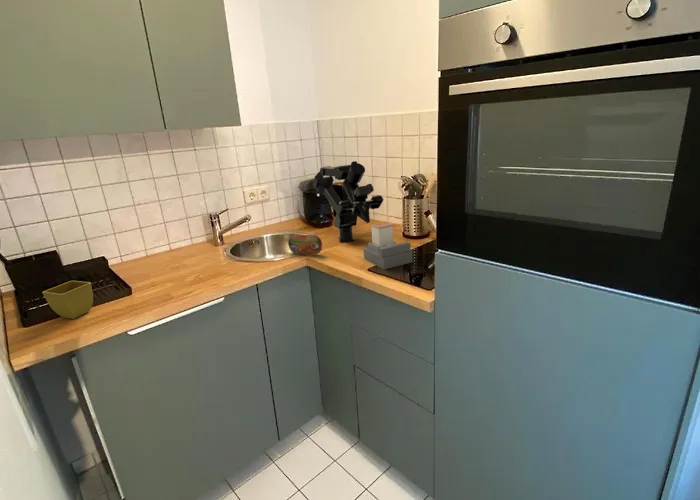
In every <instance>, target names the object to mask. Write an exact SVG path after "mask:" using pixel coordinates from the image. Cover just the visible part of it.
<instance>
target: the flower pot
mask: <svg viewBox="0 0 700 500" xmlns="http://www.w3.org/2000/svg"><path fill="white" fill-rule="evenodd" d="M42 295H43V297H44V298H45V300H46V302H47V303H48V305H49V306H50V308H51V310H52V311H54V312H55V314H57V315H58V316H60V317H61V318H65V319H76V318H78V317H80V316H82V315H85V314H86V313H89V312H90V311H91V309H92V307H93V303H94V294H93V288H92V282H90V281H79V280H70V281H67V282H64V283H62V284H59V285H57V286H54V287H51V288H48V289H46V290H44V291H42Z"/></svg>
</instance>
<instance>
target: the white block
mask: <svg viewBox="0 0 700 500" xmlns="http://www.w3.org/2000/svg"><path fill="white" fill-rule="evenodd" d="M370 227H371V228H370V229H371V243H373V244H375V245H377V246H379V247H380V248H382V247H386V246H387V245H390V244H393V241H394V226H393V224H392V223H390V222H385V221H384V222H379V223H373V224H371V225H370Z"/></svg>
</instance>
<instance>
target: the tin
mask: <svg viewBox="0 0 700 500" xmlns="http://www.w3.org/2000/svg"><path fill="white" fill-rule="evenodd" d="M287 243H288V248H289V250H290V251H291V252H292V253H293V254H295V255H299V254H305V255H304V256H309V255H314V256H316V255H318V254H320V252H321V251H322V249H323V242H322V239H321V238H320V237H319V236H318V235H317V234H311V233H310V234H309V233H300V232H299V233H294V234H292V235H290V236H289V238H288V240H287Z"/></svg>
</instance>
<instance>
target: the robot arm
mask: <svg viewBox="0 0 700 500" xmlns="http://www.w3.org/2000/svg"><path fill="white" fill-rule="evenodd" d="M365 173H366V168H365V166H364V165H362V164H361V163H358V162H357V160H355V161H351V163H350V164H345V165H337V166H330V165H328V166H327V165H326V166H321V167H320V169H319V171H318V173H316V175H314V178H313V183H312V185H313V189H315V190H316V192H318V193H320V194H321V195H324V196H325V198H326V200H327V201H328V202H329V205H331V206H332V208H333V210H334V211H335V212H336V215H335V219H334V221H333V224H334V227H335V228H337V229H338V230H339V237H338V241H339V242H340V243H344V242H345V243H346V242H353V241H355V238H354V236H353V226H355V227H356V226H357V222H358V218H359V219H361V220H362V221H363V222H364V223H366V224H370V222H371V220H370V219H371V217H370V209H371V210H376V209H379V208H380V207H381V206H382V204H383V202H384V197H383V196H382V195H380V194H379V195H373V196H371V198H370V199H369V200H367V199H368V197H369V195H371V194H372V193H373V192H374V189H375V188H374V186H373V184H372V183H367V184H366V185H362V186H360V185H359V183H361V181H362V178H363V176H364V174H365ZM334 179H336V180H337V181H342V180H343V182H342V185H341V189H342V190H345V192H346V195H347V200H342V199H341V197H340V196H339V195H338V193H337V192H336V191H335V189H334V188H333V183H334Z"/></svg>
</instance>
